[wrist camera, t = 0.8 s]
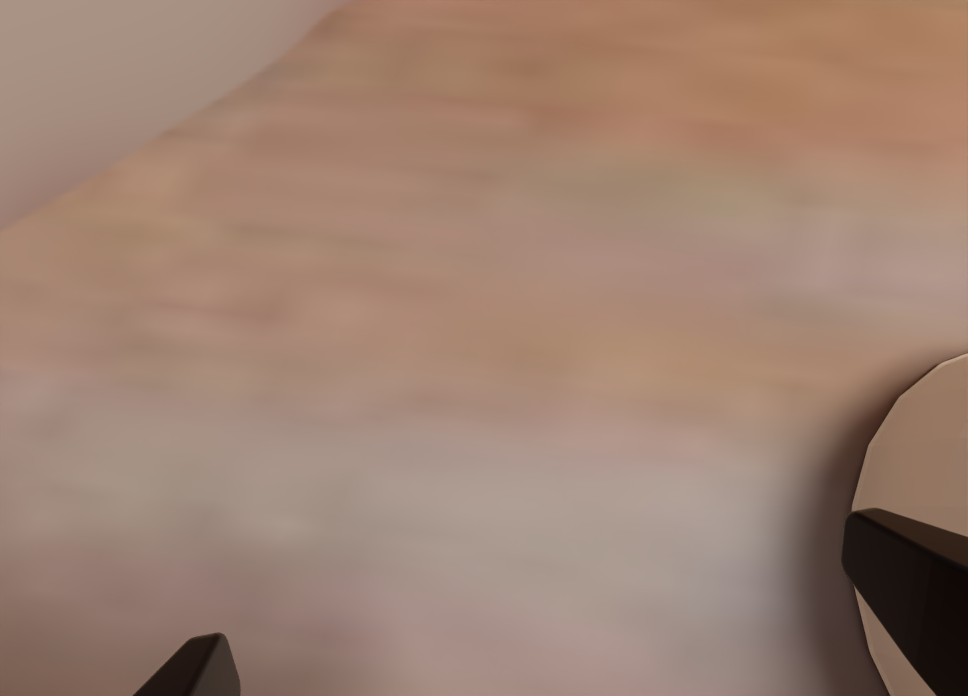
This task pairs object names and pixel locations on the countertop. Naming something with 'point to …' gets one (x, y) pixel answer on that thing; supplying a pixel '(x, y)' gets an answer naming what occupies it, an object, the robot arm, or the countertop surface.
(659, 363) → the countertop surface
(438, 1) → the countertop surface
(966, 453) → the kettle
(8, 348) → the countertop surface
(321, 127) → the countertop surface
